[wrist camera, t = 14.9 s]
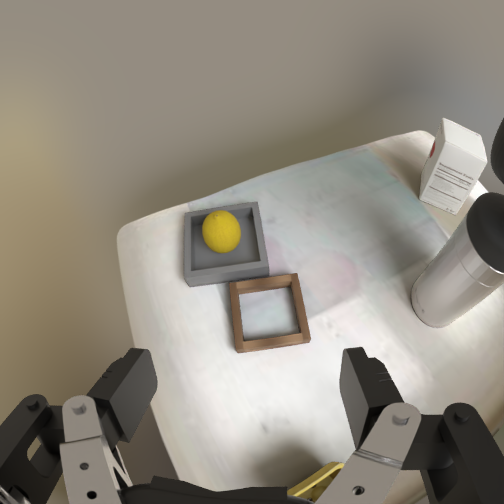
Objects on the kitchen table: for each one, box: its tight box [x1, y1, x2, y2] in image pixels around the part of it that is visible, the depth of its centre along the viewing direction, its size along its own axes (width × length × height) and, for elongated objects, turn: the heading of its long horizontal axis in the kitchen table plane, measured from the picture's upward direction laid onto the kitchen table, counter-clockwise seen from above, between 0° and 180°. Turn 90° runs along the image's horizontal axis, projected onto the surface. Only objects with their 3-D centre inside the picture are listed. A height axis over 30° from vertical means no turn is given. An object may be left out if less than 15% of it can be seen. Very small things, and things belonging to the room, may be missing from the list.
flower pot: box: [287, 462, 345, 503], centre depth 22 cm, size 9×9×9 cm
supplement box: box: [419, 118, 487, 215], centre depth 43 cm, size 9×9×15 cm
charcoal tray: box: [184, 202, 269, 287], centre depth 45 cm, size 12×12×3 cm
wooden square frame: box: [229, 273, 311, 353], centre depth 39 cm, size 10×10×2 cm
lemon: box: [202, 210, 241, 253], centre depth 42 cm, size 6×6×8 cm
